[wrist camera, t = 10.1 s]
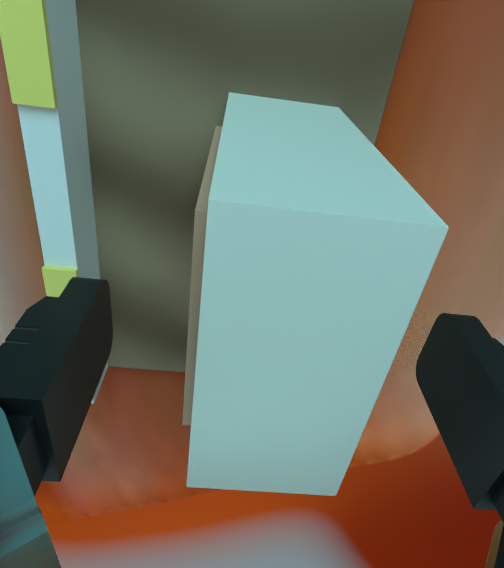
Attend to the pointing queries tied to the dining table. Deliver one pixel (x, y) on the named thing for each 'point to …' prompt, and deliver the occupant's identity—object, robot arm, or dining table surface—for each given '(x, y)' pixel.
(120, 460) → the dining table surface
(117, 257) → the shelf board
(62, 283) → the rail
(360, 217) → the carton
